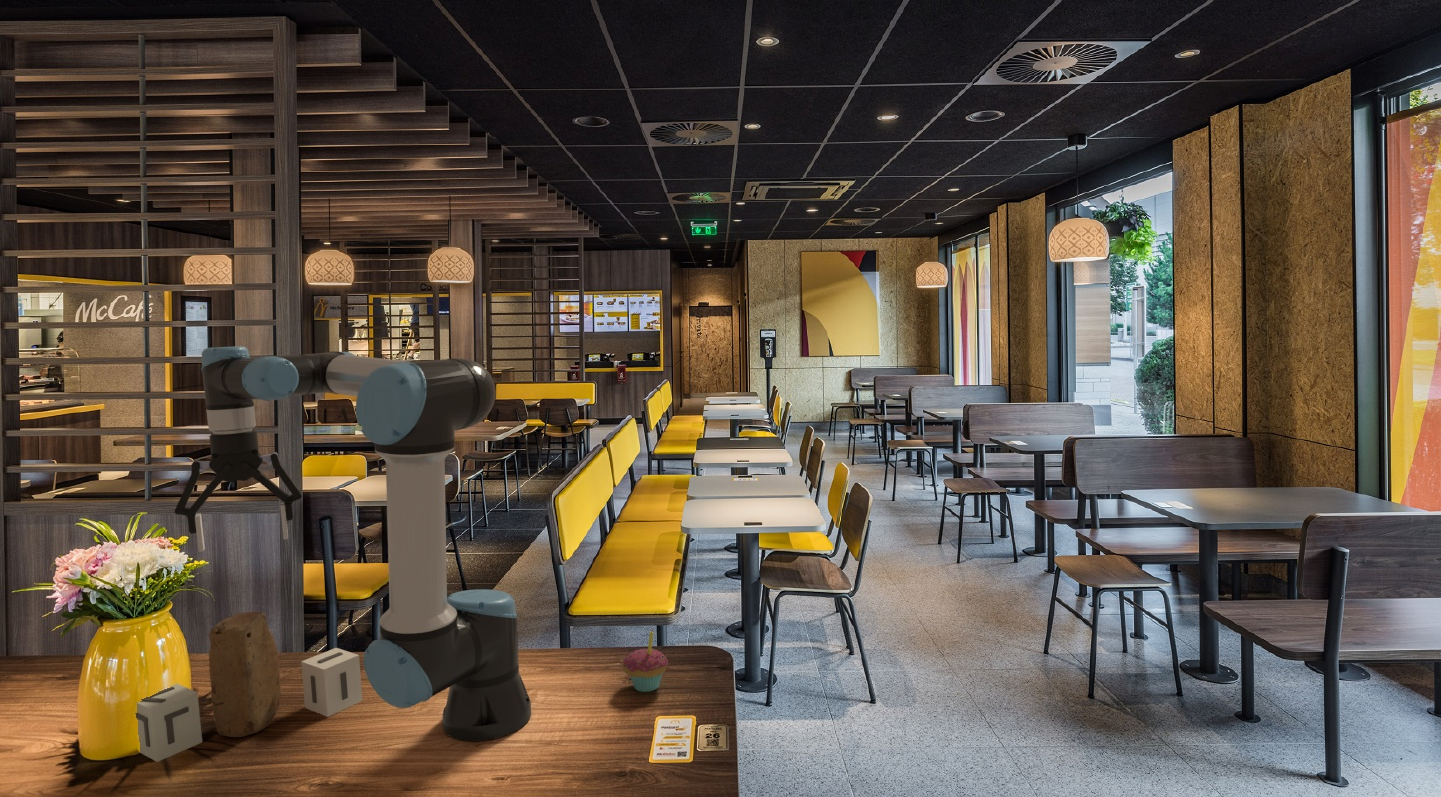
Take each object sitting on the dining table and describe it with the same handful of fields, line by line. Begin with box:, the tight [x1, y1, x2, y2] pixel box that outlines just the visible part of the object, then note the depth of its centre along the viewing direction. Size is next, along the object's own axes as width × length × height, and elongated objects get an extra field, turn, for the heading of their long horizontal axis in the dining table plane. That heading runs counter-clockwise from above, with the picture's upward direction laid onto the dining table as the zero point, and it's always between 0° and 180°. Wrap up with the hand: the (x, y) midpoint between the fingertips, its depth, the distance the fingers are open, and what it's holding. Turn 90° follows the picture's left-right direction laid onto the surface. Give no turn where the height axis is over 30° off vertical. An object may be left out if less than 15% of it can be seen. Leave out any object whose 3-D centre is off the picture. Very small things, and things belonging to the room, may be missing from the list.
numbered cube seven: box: [135, 683, 203, 763], centre depth 138 cm, size 7×7×9 cm
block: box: [208, 610, 282, 738], centre depth 145 cm, size 11×8×20 cm
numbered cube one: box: [301, 647, 363, 718], centre depth 152 cm, size 7×7×9 cm
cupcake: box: [622, 628, 669, 693], centre depth 156 cm, size 9×8×12 cm
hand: (244, 543), depth 152 cm, fingers open, 13 cm apart
